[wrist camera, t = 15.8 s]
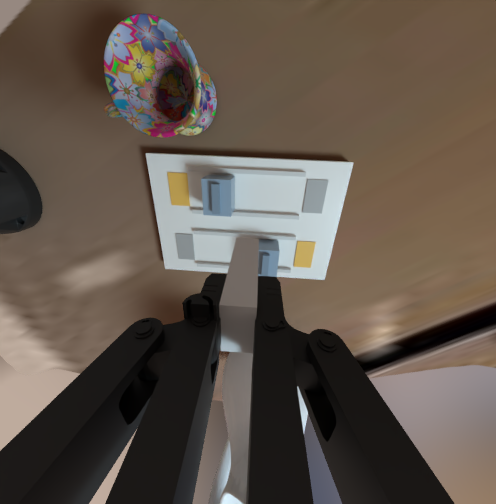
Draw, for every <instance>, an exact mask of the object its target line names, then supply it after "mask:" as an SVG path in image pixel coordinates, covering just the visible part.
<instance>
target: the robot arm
mask: <svg viewBox="0 0 496 504" xmlns="http://www.w3.org/2000/svg"><path fill="white" fill-rule="evenodd" d="M41 214H42V202H41V198H40V194H39V192H38V190H37V187H36V185H35V184H34V182H33V180H32V179H31V177H30V176H29V175H28V173H27V172H26V171H25V170H24V169H23V168H22V167H21V166H20V165H19V164H18V163H17V162H16V161H15V160H14V159H13V158H12V157H10V156H9V155H8V154H6V153H5V152H3V151H2V150H0V234H8V233H16V232H19V231H22V230H25V229H28V228H30V227H33V226H34V225H35V224H36V223H37V222H38V221H39V219H40V217H41ZM258 256H259V239H252V238H236V242H235V246H234V250H233V253H232V257H231V261H230V265H229V269H228V273H227V274H213V273H212V274H211V275H210V276H209V277H207V278H206V280H205V283H204V286H203V288H202V291H201V293H199V294H194V295H191V296H189V297H188V298H186V299H185V300H184V302H183V303H182V304H183V311H184V318H185V319H184V320H182V321H180V322H177V323H173V324H167V325H163V324H162V323H161V321H160V320H158V319H156V318H145V319H142V320H139V321H137V322H135V323H134V324H132V325H131V326H130V327H129V328H128V329H127V330H126V331H125V332H123V333H122V334H121V335H120V336H119V337H118V338H117V339H116V340H115V341H114V342H113V343H112V344H111V345H110V346H109V347H108V348H107V349H106V350H105V351H104V352H103V353H102V354H101V355H100V356H99V357H97V358H96V359H95V360H94V361H93V362H92V363H91V364H90V365H89V366H88V367H87V368H86V369H85V370H84V371H83V372H82V373H81V374H80V375H79V376H78V377H77V378H76V379H75V380H74V381H73V382H72V383H70V384H69V386H67V387H66V388H65V389H64V390H63V391H62V392H61V393H60V394H59V395H58V396H57V397H56V398H55V399H54V400H53V401H52V402H51V403H50V404H49V405H48V406H47V407H46V408H45V409H43V411H41V412H40V413H39V414H38V415H37V416H36V417H35V418H34V419H33V420H32V421H31V422H30V423H29V424H28V425H27V426H26V427H25V428H24V429H23V430H22V431H21V432H20V433H19V434H18V435H16V437H14V438H13V439H12V440H11V441H10V442H9V443H8V444H7V445H6V446H5V447H4V448H3V449H2V450H1V451H0V504H89V502H90V501H91V499H92V498H93V496H94V495H95V493H96V492H97V490H98V489H99V487H100V485H101V484H102V482H103V481H104V479H105V478H106V476H107V474H108V473H109V471H110V470H111V468H112V467H113V465H114V464H115V462H116V460H117V459H118V457H119V456H120V454H121V453H122V451H123V450H124V448H125V446H126V445H127V443H128V442H129V440H130V439H131V437H132V436H133V434H134V432H135V431H136V429H137V428H138V429H137V431H136V433H135V436H134V438H133V440H132V443H131V445H130V447H129V449H128V452H127V454H126V456H125V459H124V461H123V463H122V466H121V468H120V470H119V473H118V475H117V478H116V480H115V482H114V484H113V487H112V489H111V491H110V494H109V496H108V499H107V501H106V503H105V504H192V502H193V497H194V492H195V485H196V481H197V476H198V470H199V465H200V460H201V455H202V449H203V444H204V438H205V434H206V428H207V423H208V417H209V412H210V407H211V402H212V397H213V391H214V386H215V381H216V376H217V370H218V365H219V351H220V346H221V351H228V352H241V353H253V362H252V375H251V376H252V381H251V404H250V426H249V448H248V470H247V492H246V504H313V497H312V489H311V482H310V475H309V468H308V461H307V454H306V447H305V440H304V433H303V425H302V418H301V411H300V404H299V397H298V390H297V386H298V387H299V390H300V393H301V395H302V398H303V400H304V403H305V406H306V408H307V411H308V414H309V416H310V419H311V422H312V424H313V427H314V430H315V432H316V435H317V437H318V440H319V443H320V445H321V448H322V451H323V453H324V456H325V459H326V461H327V464H328V467H329V469H330V472H331V474H332V477H333V480H334V482H335V485H336V487H337V490H338V493H339V496H340V498H341V501H342V504H454V502H453V501H452V499H451V498H450V496H449V495H448V493H447V492H446V491H445V489H444V488H443V486H442V485H441V483H440V482H439V480H438V479H437V477H436V476H435V475H434V473H433V472H432V470H431V469H430V467H429V466H428V464H427V463H426V461H425V460H424V458H423V457H422V456H421V454H420V453H419V451H418V450H417V448H416V447H415V445H414V444H413V442H412V441H411V440H410V438H409V436H408V435H407V434H406V432H405V431H404V429H403V428H402V426H401V425H400V423H399V422H398V421H397V419H396V418H395V416H394V415H393V413H392V412H391V410H390V409H389V407H388V406H387V405H386V403H385V402H384V400H383V399H382V397H381V396H380V394H379V393H378V391H377V390H376V388H375V387H374V385H373V384H372V382H371V381H370V380H369V378H368V377H367V375H366V374H365V372H364V371H363V369H362V368H361V366H360V365H359V363H358V362H357V361H356V359H355V358H354V356H353V355H352V353H351V352H350V350H349V349H348V347H347V346H346V344H345V343H344V342H343V340H342V339H341V338H340V337H339V336H338V335H336V334H335V333H333V332H331V331H328V330H325V329H317V330H314V331H312V332H311V333H310V334H306V333H303V332H301V331H298V330H296V329H294V328H293V327H291V326H290V325H289V324H288V323H287V321H286V320H285V317H284V310H283V302H282V296H281V295H282V294H281V286H280V282H279V281H278V279H277V278H276V277H271V276H258Z"/></svg>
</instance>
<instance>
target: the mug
mask: <svg viewBox="0 0 496 504" xmlns="http://www.w3.org/2000/svg"><path fill="white" fill-rule="evenodd" d="M104 74H105V80H106V84H107V87H108V91H109V93H110V96H111V98H112V100H113V102H111V103H109V104H108V105H106V106H105V107H104V111H105V113H106V115H107V116H109V117H124V118H125V119H126V120H127V121H128V122H129V123H130V124H131V125H132V126H133V127H135V128H136V129H137V130H139V131H141V132H143V133H145V134H147V135H150V136H154V137H171V136H174V135H176V134H179V133H180V134H183V135H189V136H191V135H197V134H199V133H201V132H203V131H204V130H206V129H207V128H208V127H209V125H210V124H211V123H212V121H213V119H214V116H215V113H216V107H217V96H216V91H215V87H214V84H213V82H212V80H211V78H210V76H209V75H208V73H207V72H206V71H205V70H204V69H203V67H201V66H200V65H199V64H197V60H196V58H195V55H194V53H193V51H192V49H191V47H190V45H189V44H188V42H187V41H186V39H185V38H184V37H183V35H182V34H181V33H180V32H179V31H178V30H177V29H176V28H175V27H174V26H173V25H172V24H170V23H169V22H167V21H166V20H164V19H162V18H160V17H158V16H155V15H151V14H135V15H131V16H129V17H127V18H125V19H123V20H122V21H121V22H120V23H118V24H117V26H116V27H115V28H114V29H113V31H112V32H111V34H110V36H109V38H108V41H107V44H106V47H105V53H104Z"/></svg>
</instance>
